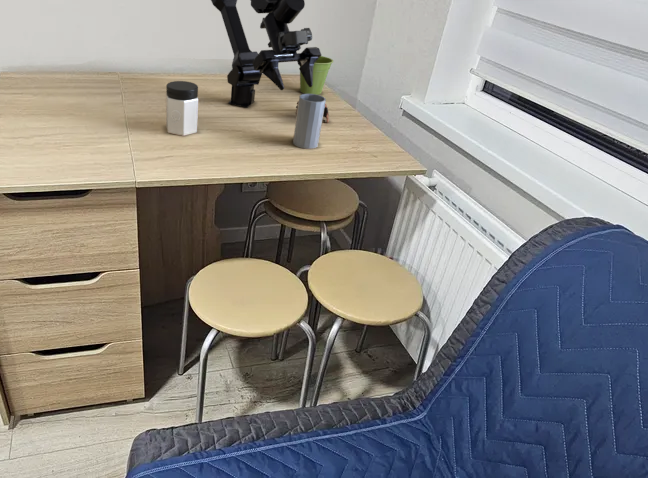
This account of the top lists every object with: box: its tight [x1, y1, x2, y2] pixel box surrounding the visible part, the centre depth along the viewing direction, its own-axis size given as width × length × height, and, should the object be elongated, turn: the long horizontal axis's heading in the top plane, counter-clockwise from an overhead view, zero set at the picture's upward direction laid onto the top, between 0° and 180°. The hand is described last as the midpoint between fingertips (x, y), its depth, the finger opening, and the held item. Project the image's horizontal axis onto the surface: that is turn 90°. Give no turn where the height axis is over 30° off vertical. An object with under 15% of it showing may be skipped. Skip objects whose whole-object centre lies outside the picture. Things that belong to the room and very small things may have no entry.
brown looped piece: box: [295, 100, 330, 123], centre depth 155 cm, size 12×10×8 cm
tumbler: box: [292, 93, 327, 150], centre depth 136 cm, size 7×7×12 cm
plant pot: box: [299, 55, 334, 95], centre depth 175 cm, size 12×12×11 cm
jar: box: [165, 80, 199, 137], centre depth 137 cm, size 9×8×12 cm
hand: (297, 88), depth 137 cm, fingers open, 9 cm apart
